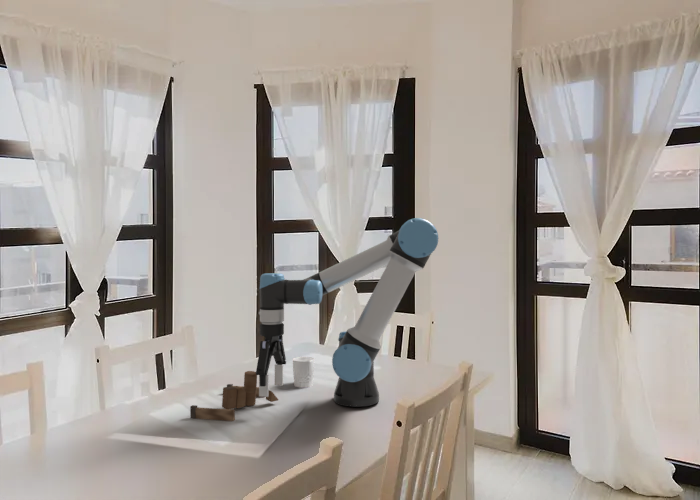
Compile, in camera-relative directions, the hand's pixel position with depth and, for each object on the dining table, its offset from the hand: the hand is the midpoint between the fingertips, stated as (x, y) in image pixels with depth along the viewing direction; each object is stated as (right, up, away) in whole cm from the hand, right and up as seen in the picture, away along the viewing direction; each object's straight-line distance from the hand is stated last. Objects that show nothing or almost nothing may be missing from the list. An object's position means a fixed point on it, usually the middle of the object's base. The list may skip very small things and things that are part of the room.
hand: (271, 390), depth 162 cm
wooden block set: (-8, -6, +2) cm, 10 cm away
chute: (-13, -6, +3) cm, 14 cm away
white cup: (+8, -6, +27) cm, 29 cm away
